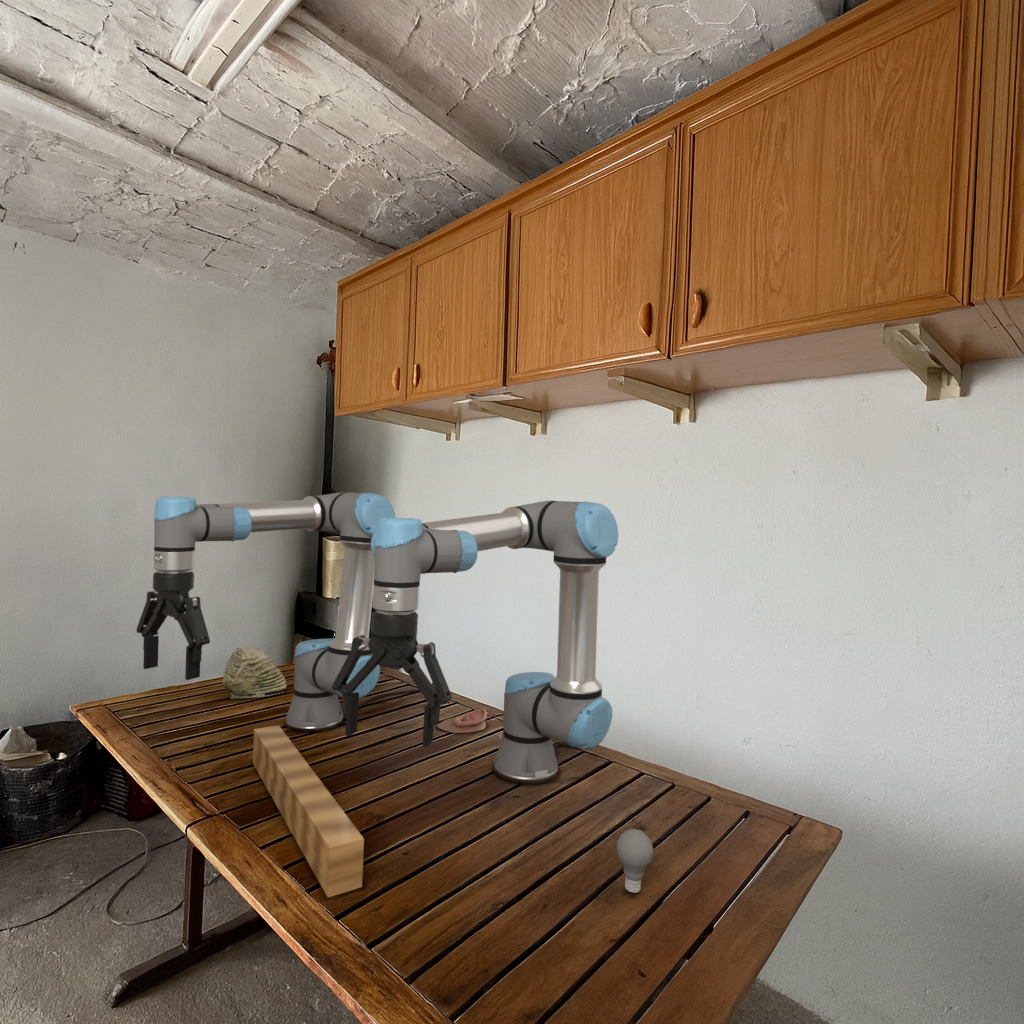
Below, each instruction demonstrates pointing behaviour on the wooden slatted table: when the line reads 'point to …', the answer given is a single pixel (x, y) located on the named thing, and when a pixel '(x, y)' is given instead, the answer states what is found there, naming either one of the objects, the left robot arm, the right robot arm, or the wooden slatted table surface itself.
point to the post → (310, 812)
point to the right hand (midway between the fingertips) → (388, 738)
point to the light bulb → (634, 857)
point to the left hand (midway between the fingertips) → (171, 672)
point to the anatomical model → (465, 722)
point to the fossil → (252, 674)
